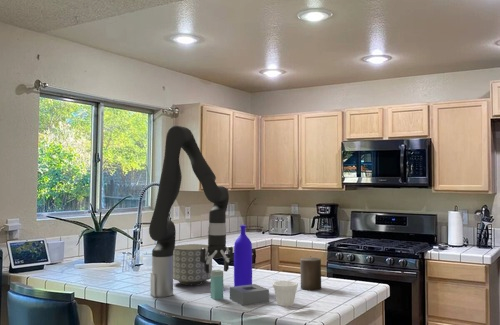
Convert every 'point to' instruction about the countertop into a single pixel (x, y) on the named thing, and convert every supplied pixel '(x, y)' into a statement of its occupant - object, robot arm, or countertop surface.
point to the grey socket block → (249, 294)
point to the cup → (285, 292)
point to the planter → (190, 264)
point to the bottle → (242, 259)
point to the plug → (216, 284)
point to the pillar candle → (310, 273)
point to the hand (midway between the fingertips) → (216, 272)
